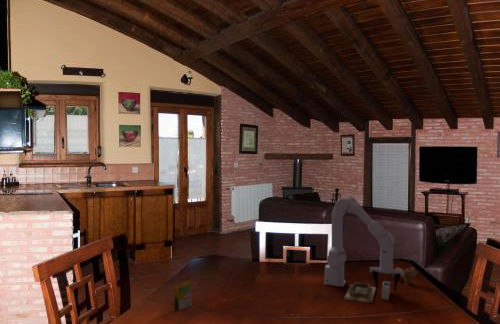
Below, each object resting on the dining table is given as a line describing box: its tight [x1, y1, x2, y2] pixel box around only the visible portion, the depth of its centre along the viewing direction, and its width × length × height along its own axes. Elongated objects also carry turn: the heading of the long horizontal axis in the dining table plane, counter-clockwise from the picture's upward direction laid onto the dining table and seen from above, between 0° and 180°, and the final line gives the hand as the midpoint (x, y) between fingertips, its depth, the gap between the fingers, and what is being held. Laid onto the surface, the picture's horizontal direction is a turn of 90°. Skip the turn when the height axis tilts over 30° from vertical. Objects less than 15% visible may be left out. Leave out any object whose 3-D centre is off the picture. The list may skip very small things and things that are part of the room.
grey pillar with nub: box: [381, 280, 391, 301], centre depth 196 cm, size 3×10×6 cm, turn 159°
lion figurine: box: [390, 266, 418, 286], centre depth 214 cm, size 15×5×9 cm, turn 35°
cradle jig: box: [344, 281, 377, 304], centre depth 197 cm, size 12×18×3 cm, turn 159°
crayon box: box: [173, 279, 192, 312], centre depth 180 cm, size 7×3×12 cm, turn 141°
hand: (385, 288), depth 196 cm, fingers open, 7 cm apart
